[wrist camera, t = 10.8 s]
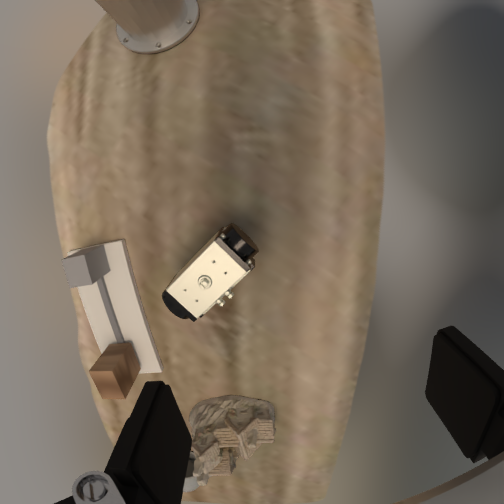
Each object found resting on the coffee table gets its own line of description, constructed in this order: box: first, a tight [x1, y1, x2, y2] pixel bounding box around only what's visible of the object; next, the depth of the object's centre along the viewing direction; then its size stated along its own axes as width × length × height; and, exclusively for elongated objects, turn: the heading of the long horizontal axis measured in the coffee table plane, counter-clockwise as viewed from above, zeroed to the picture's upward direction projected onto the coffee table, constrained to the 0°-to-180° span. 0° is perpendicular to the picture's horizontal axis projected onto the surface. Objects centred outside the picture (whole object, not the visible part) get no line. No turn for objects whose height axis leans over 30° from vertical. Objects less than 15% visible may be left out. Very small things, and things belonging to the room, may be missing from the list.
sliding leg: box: [89, 342, 141, 399], centre depth 40 cm, size 5×7×8 cm
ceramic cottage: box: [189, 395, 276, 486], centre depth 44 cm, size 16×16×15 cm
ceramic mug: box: [183, 451, 210, 492], centre depth 50 cm, size 11×8×8 cm
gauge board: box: [62, 239, 163, 373], centre depth 41 cm, size 22×10×7 cm, turn 10°
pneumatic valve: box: [162, 223, 259, 322], centre depth 37 cm, size 6×12×12 cm, turn 134°
